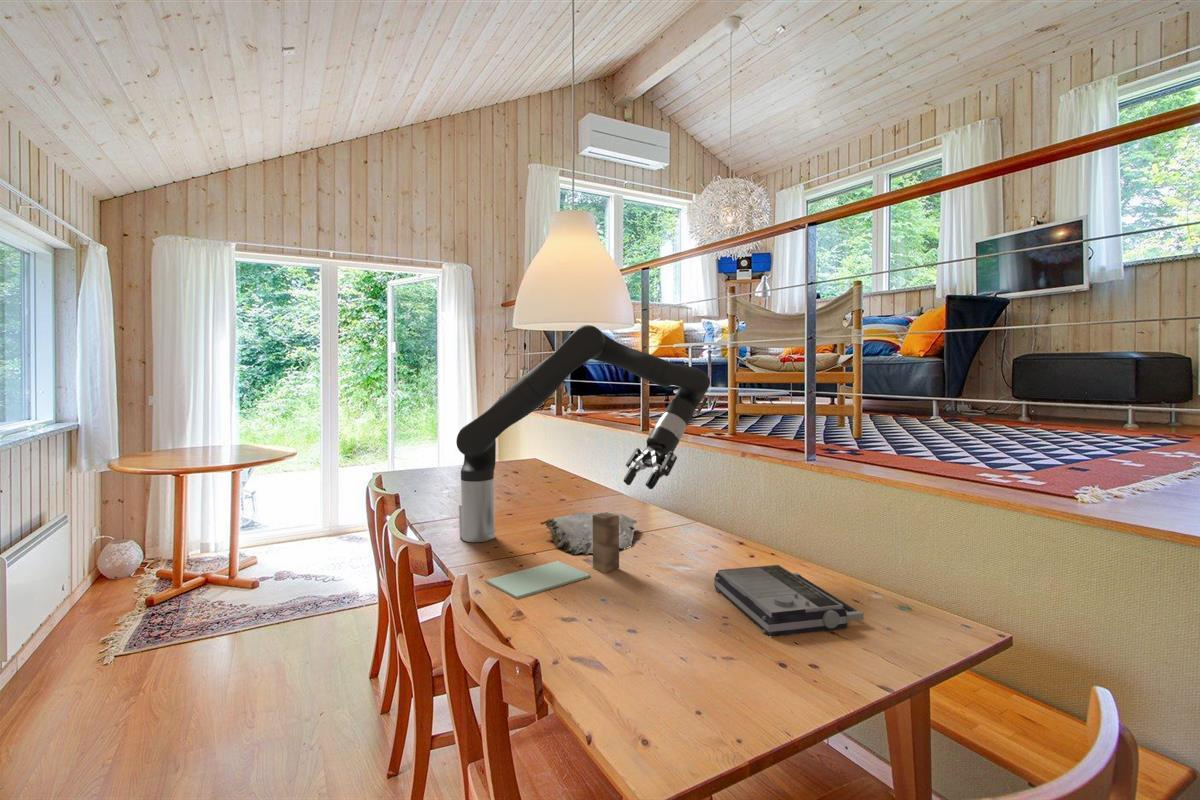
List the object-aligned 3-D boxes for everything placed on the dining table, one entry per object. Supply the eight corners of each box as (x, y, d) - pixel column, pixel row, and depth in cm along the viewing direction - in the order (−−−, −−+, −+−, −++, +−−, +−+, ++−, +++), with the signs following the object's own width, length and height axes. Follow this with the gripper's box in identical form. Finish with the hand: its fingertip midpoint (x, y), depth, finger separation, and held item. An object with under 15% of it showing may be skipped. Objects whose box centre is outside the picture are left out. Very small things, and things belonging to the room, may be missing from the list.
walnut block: (607, 564, 145) (606, 512, 144) (619, 568, 142) (618, 515, 141) (592, 568, 142) (592, 515, 141) (605, 572, 139) (604, 518, 138)
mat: (557, 563, 146) (557, 561, 146) (590, 576, 136) (590, 574, 136) (486, 582, 133) (486, 579, 133) (516, 598, 123) (516, 596, 123)
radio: (713, 567, 128) (796, 560, 132) (713, 591, 128) (796, 583, 132) (769, 611, 104) (868, 601, 108) (768, 641, 104) (867, 629, 108)
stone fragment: (664, 542, 166) (665, 519, 166) (582, 562, 148) (583, 537, 148) (608, 522, 186) (609, 501, 186) (530, 537, 168) (530, 515, 168)
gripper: (640, 424, 158) (610, 474, 151) (678, 426, 146) (647, 479, 140) (656, 441, 161) (627, 490, 155) (694, 444, 150) (665, 497, 143)
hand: (637, 485), depth 147 cm, fingers open, 8 cm apart
